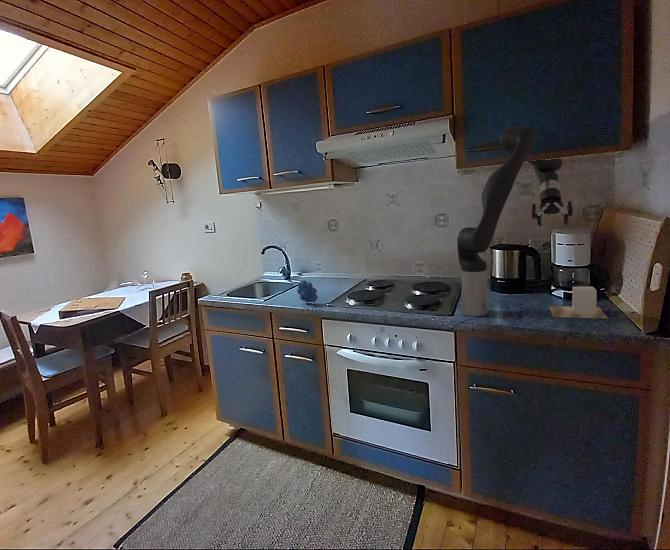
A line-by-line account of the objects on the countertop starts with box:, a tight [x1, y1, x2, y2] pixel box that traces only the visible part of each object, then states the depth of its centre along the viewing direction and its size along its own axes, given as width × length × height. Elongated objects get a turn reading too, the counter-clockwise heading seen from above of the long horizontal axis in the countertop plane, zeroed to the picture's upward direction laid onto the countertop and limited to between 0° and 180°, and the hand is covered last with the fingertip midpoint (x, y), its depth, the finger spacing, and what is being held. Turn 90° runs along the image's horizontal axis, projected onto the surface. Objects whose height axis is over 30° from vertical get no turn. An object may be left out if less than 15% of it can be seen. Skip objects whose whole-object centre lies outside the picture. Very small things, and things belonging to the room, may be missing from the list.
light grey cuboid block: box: [571, 286, 598, 315], centre depth 135 cm, size 6×6×8 cm
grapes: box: [296, 280, 319, 303], centre depth 185 cm, size 12×7×12 cm, turn 58°
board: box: [549, 305, 609, 319], centre depth 137 cm, size 16×13×1 cm
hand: (552, 224), depth 151 cm, fingers open, 8 cm apart
